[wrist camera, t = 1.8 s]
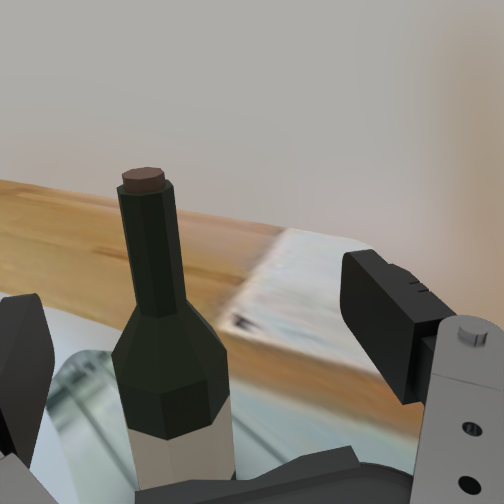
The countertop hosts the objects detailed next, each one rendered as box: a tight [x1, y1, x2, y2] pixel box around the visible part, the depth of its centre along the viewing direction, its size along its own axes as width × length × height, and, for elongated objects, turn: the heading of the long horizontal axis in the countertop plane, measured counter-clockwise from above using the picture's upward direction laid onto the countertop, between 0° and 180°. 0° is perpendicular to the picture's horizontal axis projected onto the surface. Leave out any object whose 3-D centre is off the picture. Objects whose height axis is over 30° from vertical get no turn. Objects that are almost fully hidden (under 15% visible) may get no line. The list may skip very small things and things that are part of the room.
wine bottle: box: [111, 167, 236, 490], centre depth 34 cm, size 8×8×30 cm
